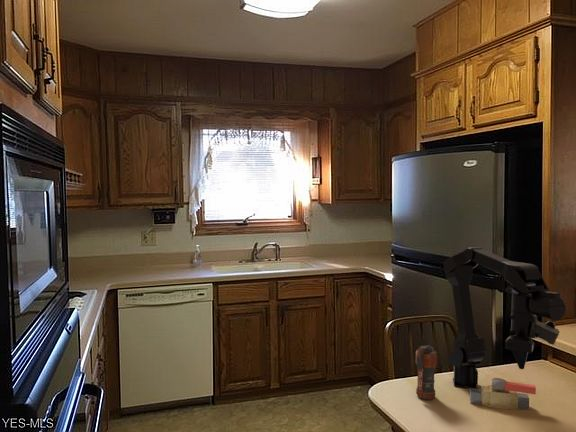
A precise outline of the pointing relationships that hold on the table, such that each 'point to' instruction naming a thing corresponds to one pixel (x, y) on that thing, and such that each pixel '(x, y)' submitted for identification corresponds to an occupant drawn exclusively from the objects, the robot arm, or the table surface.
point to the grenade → (426, 372)
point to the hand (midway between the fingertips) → (521, 368)
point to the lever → (512, 386)
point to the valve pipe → (499, 398)
